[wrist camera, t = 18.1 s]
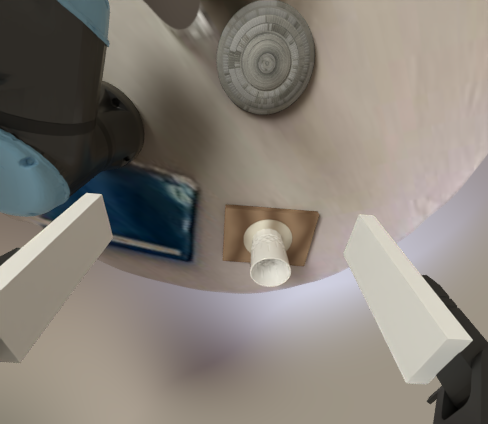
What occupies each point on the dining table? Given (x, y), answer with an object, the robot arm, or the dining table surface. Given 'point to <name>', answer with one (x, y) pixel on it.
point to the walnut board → (257, 218)
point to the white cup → (269, 259)
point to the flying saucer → (265, 57)
